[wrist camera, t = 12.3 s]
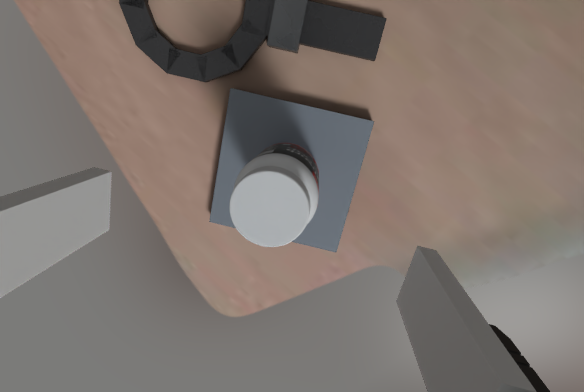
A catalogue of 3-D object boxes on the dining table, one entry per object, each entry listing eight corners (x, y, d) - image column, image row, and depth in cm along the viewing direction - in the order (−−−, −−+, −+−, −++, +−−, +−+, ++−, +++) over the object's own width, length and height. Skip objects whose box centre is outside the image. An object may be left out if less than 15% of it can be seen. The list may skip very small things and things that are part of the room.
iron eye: (130, -107, 24) (122, -116, 23) (403, -47, 24) (406, -53, 23) (120, 62, 27) (112, 60, 27) (358, 117, 27) (359, 118, 26)
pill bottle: (332, 181, 28) (339, 222, 18) (280, 218, 29) (262, 273, 20) (291, 127, 27) (277, 141, 17) (240, 167, 28) (200, 201, 19)
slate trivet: (233, 88, 27) (230, 88, 26) (372, 120, 27) (374, 121, 26) (212, 218, 31) (209, 221, 30) (335, 247, 30) (336, 252, 30)
